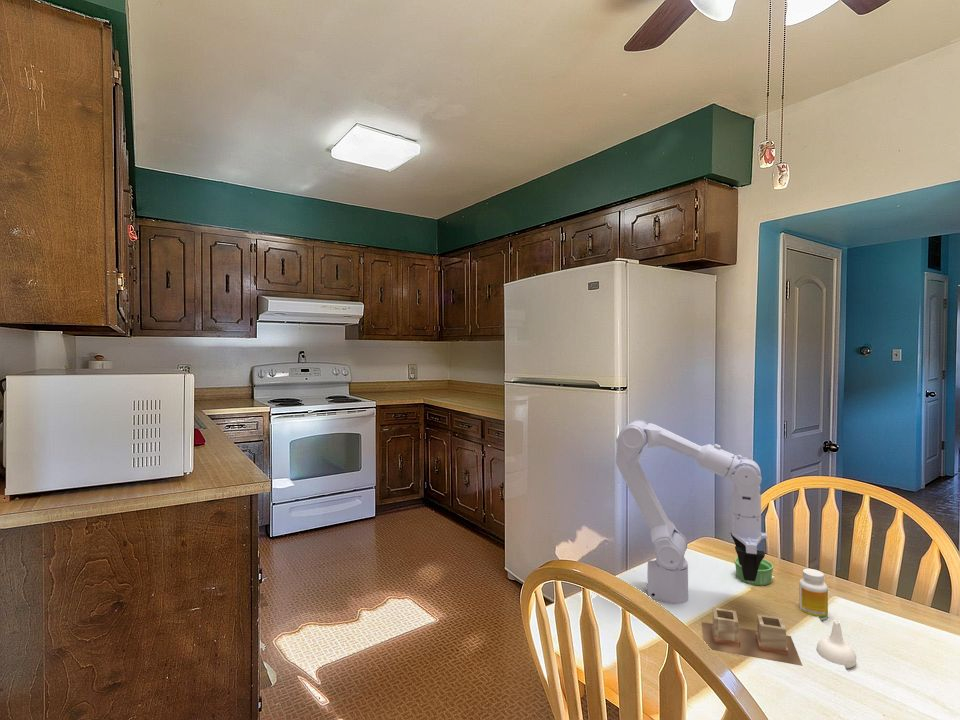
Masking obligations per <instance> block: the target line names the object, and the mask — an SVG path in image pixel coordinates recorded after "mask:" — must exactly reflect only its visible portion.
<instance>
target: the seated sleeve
mask: <svg viewBox="0 0 960 720" xmlns="http://www.w3.org/2000/svg"><path fill="white" fill-rule="evenodd" d="M712 624H713V626H712V625H711V631H712V638H713V643H717V644H723V645H729V646H734V647H740V638H739V629H738V628H739V619H738V614H737V611H736V610H732V609H725V608H718V607H712Z"/></svg>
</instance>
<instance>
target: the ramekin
mask: <svg viewBox="0 0 960 720" xmlns="http://www.w3.org/2000/svg"><path fill="white" fill-rule="evenodd" d="M733 561H734V565H735V571H736V572H735V573H736V576H737V578H738V580H740V581H741V580H742V582H743V583H745V582H746V584H747V585H748V584H749V585H751V586H752V585H753V586H761V587H762V586H767V585H770V584H771V583H772V578H773V570H774V565H773V563H772V562H771V561H769V560H768V559H766V558H763V559H762V561H761V563H760V565H759V568H758V572H757V576H756V580H755V581H747V580H744V577H743V572H742V566H741V565H740V563H739V560H738V556H735V558H734V559H733Z"/></svg>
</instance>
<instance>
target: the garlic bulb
mask: <svg viewBox="0 0 960 720" xmlns="http://www.w3.org/2000/svg"><path fill="white" fill-rule="evenodd" d="M842 632H843V630H842V627H841V621H840V620H837V619H833V623H832V628H831V632H830V636H825V637H823V638H820V639H819V640H818V641H817V645H816V652H817V653H818V655H820V656H821V657H822V658H823V659H825V660H827V661H828V662H831V663H834V664H837V665H842V666H844V668H845V669H850V668H853V667H854V666H855V665H856V663H857V655H856V653H855V650H854V649H853V648H852V646H851V645H850V644H849V643H847V642H846V640H844V637H843V633H842Z"/></svg>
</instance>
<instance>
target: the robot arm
mask: <svg viewBox="0 0 960 720" xmlns="http://www.w3.org/2000/svg"><path fill="white" fill-rule="evenodd" d="M615 441H616V442H615V443H616V455H615V463H616V467H617V468H618V470H619V472H620V474H621V475H622V479H623V480H624V482H625V483H626V486H627V488H628V489H629V492H630V493H631V496H632V498H633V499H634V501H635V503H636V505H637V507H638V509H639V511H640V514H641V515H642V517H643V519H644V521H645V523H646V525H647V527H648V529H649V532H650V538H651V543H652V544H653V545H652V546H653V547H654V555H655V560H654V559H653V560H652V559H651V560H647V583H646V592H647V596H648V595H649V596H650V597H651V598H652V599H651V600H655V601H656V600H657V601H662V602H665V603H669V604H674V605H677V604H678V605H679V604H684V603H686V602H688V600H689V563H688V561H687V560H686V558H685V553H686V551H687V549H688V540H687V538H686V537H685V535H684V534H683V533H681V532H680V531H679V530H678V528H677V527H676V526H675V524H674V523H673V522H672V521H671V520H670V519H669V518H668V516H667V514H666V512H665V511H664V508H663V506H662V504H661V503H660V501H659V498H658V496H657V494H656V493H655V491H654V489H653V487H652V486H651V483H650V481H649V480H648V477H647V476H646V474H645V472H644V470H643V467H642V466H641V464H640V463H639V459H640V457H641V455H642V452H643V449H644V447H645V446H646V445H647V448H648V449H649V448H655V447H656V448H657V447H661V446H662V447H665V448H666V449H667V448H668V449H670V450H673V451H675V452H677V453H680V454H682V455H685V456H687V457H690V458H693V459H695V460H696V462H697V464H698V466H699V467H700V468H703V469H704V470H707V471H710V472H711V473H714V474H716V475H718V476H719V477H722V478H725V479H729V480H731V481H732V482H733V491H732V495H731V496H732V503H731V505H732V506H731V507H732V530H731V531H730V536H731V537H732V540H733V541H734V542H733V543H734V544H735V546H734V549H735V552H736V555H737V557H738V560H739V563H740V565H741V566H742V572H743V577H744V580H747V581H755V580H756V576H757V572H758V568H759V565H760V563H761V561H762V559H765V556H766V553H765V551H764V550H758V544H760V542H761V541H762V539H763V540H764V539H765V540H767V539H768V534H767V533H766V532H762V495H761V484H762V480H763V478H762V473H761V472H762V471H761V468H760V466H759V464H758V463H757V462H756V461H754V460H753V459H751V458H750V457H744V456H742V455H741V454H737V455H736V454H734V453H732V452H729V451H727V450H725V449H722V448H721V445H719V444H717V443H715V444H714V445H713V444H710V443H709V444H704V445H699V444H697V443H695V442H692V441H691V440H689V439H687V438H684V437H682V436H681V435H678V434H676V433H674V432H672V431H670V430H668V429H665V428H664V427H661V426H659V425H658V424H654V423H651V422H649V423H648V422H647V421H645V420H643V419H634V420H632V421H631V422H629V423H628V424H627V425H625V426H624V427H622V428H621V430H620V431H619V434H618V435H617V438H616V440H615ZM653 594H654V595H653Z"/></svg>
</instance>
